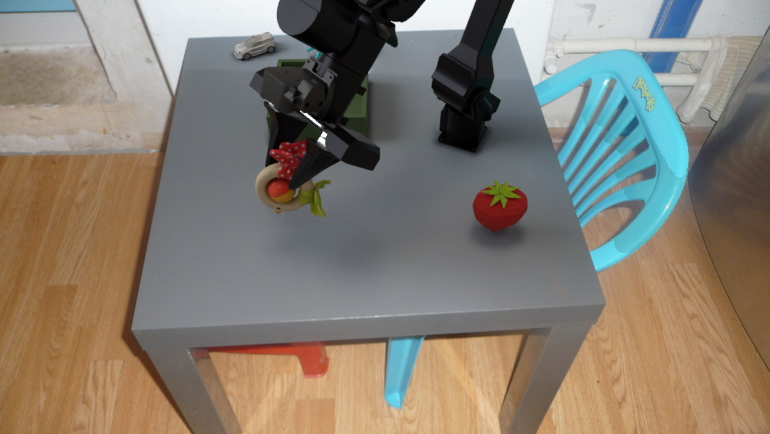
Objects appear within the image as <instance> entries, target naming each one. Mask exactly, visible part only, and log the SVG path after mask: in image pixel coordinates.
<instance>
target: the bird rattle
mask: <svg viewBox="0 0 770 434" xmlns="http://www.w3.org/2000/svg"><path fill="white" fill-rule="evenodd" d="M305 152H306V139H305V140H302V141H295V142H294V143H288V142H283V143H281V144H280V147H279V150H276V149H273V150H271V151H270V155H271V156H272V157H274V158H275V159H276V160H277V161H278V162H279V163H276V164H272V165H270V166H268V167H264V168H263V169H262V170H261V171H259V173H258V174H257V177H256V179H255V184H254V189H255V193H256V196H257V197H258V198H259V200H260V201H261V202H262V203H263V204H264V206H265V205H266V206H267V207H269V208H271V209H272V210H273V212H274V213H275V214H276V215H279V214H282V213H283V212H291V211H296V210H299V209H301V208H304V207H305V206H308V205H309V210H310V211H309V212H310V213H311V214H312V215H313V216H314V217H319V216H320V217H321V218H322V219H323V218H325V217H326V216H327V213H326V211H325V210H324V209H323V207H322V197H321V195H320V192H319V191H320V190H321V189H325V187H326V185H331V184H332V182H331V180H330V179H322V180H319V181H316V182H313V178H312V179H310V180H309V181H307V182H306V183H305V184H303V185H302V186H300V187H299V188H298V191H297V189H296V190H291V189H289V188H288V185H289V183H290V180H291V178H292V176H293V174H294V172H295V170H296V169H297V167H298V165H299V163H300V161H301V160H302V158H303V156H304V154H305ZM296 193H297V194H296Z"/></svg>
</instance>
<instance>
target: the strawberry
mask: <svg viewBox="0 0 770 434" xmlns="http://www.w3.org/2000/svg"><path fill="white" fill-rule="evenodd" d="M505 181H506V182H505V183H504V184H501V183H500V182H498V181H497V180H496V179H494V178H493V182H494V185H489V184H485V188H483V189H481V190H480V191H478V193H477V194H475V197H474V199H473V202H472V206H471V207H472V211H473V214H474V218H475V220H476V221H477V222H478V223H479V224H480V225H481V226H482V227H484V228H485V229H487V230H489V231H491V232H493V233H495V232H498V231H503V230H505V229H507V228H510V227H512V226H514V225H516V224H518V223H519V222H520V221H521V219H522V218H523V217H524V216H525V214H526V213H527V211H528V208H529V200H528V197H527V195H526V193H524V192H523V190H521V189H520V188H521V186H513V185H510V184H509V180H505Z"/></svg>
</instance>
